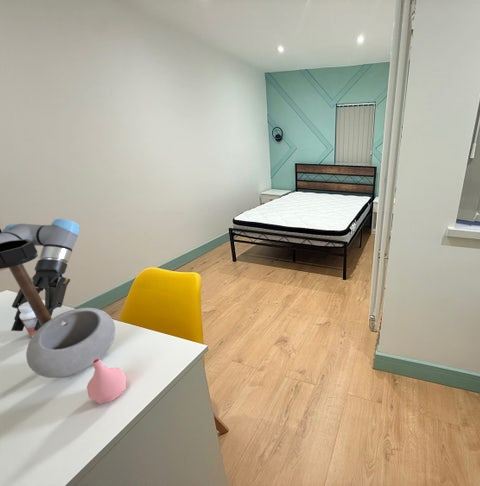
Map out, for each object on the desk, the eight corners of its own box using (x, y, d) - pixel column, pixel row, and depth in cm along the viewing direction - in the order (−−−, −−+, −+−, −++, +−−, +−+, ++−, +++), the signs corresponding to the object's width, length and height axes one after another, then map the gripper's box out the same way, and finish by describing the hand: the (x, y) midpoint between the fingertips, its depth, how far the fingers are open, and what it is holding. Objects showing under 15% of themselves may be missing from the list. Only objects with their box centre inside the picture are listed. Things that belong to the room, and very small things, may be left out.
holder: (-26, 271, 60) (-35, 256, 59) (6, 255, 68) (-2, 241, 66) (21, 266, 62) (12, 251, 61) (46, 251, 70) (39, 238, 68)
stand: (42, 372, 74) (-21, 270, 61) (59, 351, 81) (7, 256, 68) (73, 366, 76) (19, 266, 62) (88, 346, 82) (42, 252, 69)
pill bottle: (39, 326, 90) (24, 300, 86) (60, 323, 92) (47, 297, 87) (25, 339, 85) (8, 311, 80) (48, 336, 86) (33, 308, 82)
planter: (51, 398, 66) (16, 342, 59) (40, 387, 70) (5, 332, 62) (129, 348, 82) (109, 299, 74) (117, 341, 85) (96, 292, 77)
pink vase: (84, 408, 64) (65, 373, 59) (110, 381, 71) (94, 347, 66) (115, 410, 64) (97, 375, 59) (137, 382, 71) (123, 349, 66)
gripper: (90, 264, 96) (69, 330, 87) (35, 265, 95) (9, 331, 86) (72, 257, 89) (48, 328, 80) (13, 258, 88) (-18, 330, 79)
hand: (28, 330), depth 83 cm, fingers closed on pill bottle, 6 cm apart
